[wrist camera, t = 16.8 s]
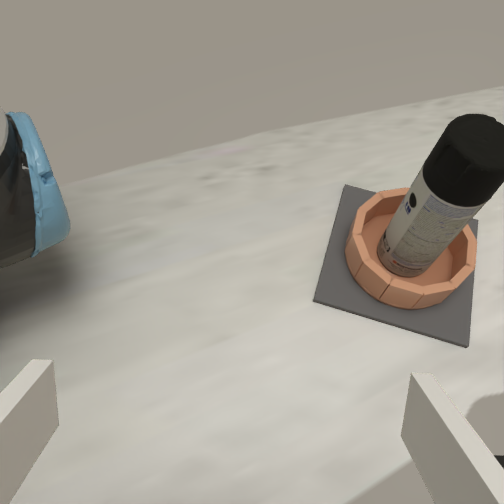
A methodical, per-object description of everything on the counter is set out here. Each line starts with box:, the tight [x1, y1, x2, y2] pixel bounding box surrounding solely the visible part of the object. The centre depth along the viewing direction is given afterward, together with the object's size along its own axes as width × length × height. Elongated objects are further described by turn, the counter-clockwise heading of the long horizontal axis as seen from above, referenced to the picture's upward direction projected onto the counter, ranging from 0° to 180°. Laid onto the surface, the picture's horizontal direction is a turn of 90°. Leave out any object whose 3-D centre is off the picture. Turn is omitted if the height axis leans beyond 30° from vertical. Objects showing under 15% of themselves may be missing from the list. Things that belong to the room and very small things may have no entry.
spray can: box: [377, 114, 504, 277], centre depth 45 cm, size 7×7×20 cm
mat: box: [313, 184, 478, 348], centre depth 55 cm, size 18×18×1 cm
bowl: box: [345, 188, 477, 310], centre depth 53 cm, size 14×14×5 cm
